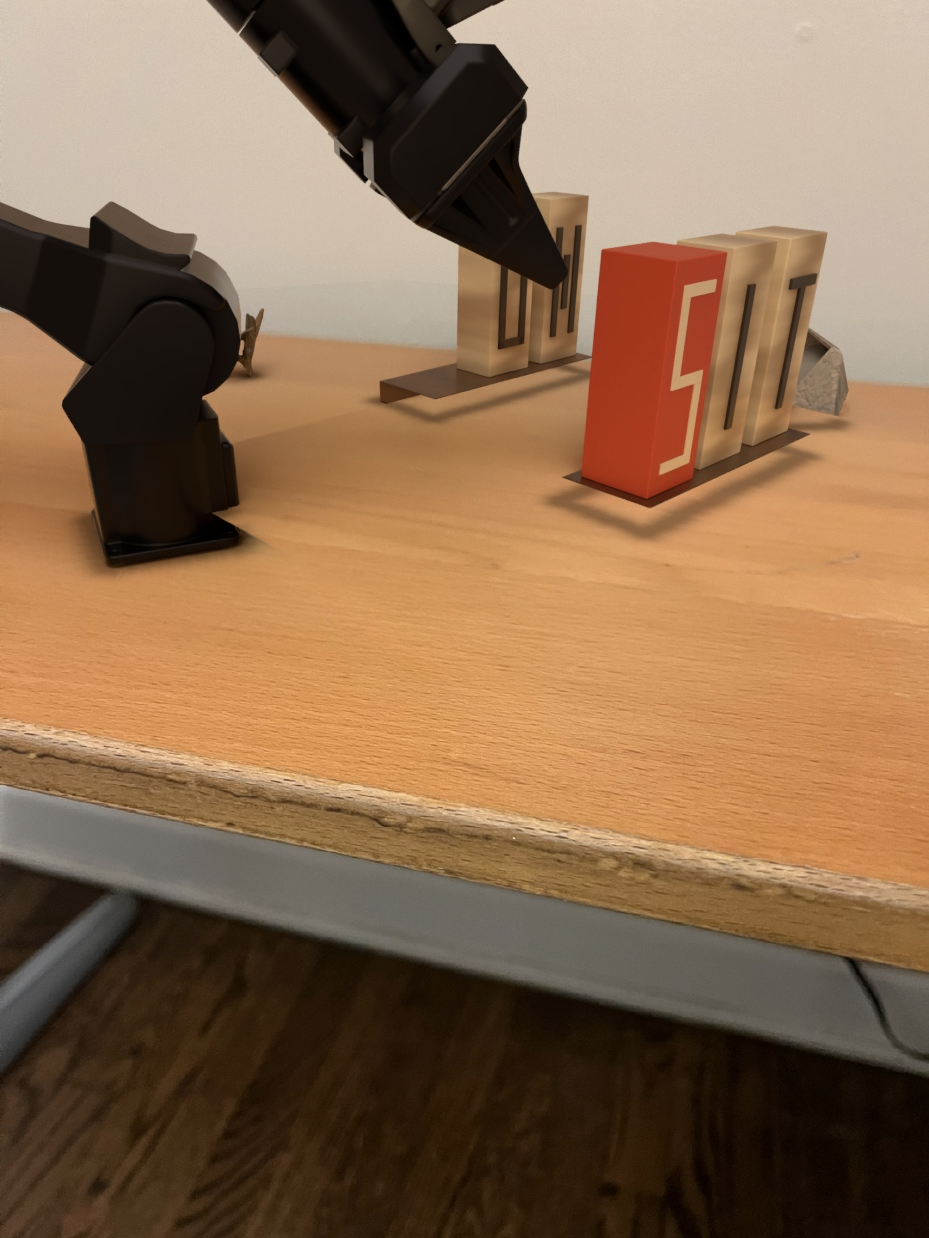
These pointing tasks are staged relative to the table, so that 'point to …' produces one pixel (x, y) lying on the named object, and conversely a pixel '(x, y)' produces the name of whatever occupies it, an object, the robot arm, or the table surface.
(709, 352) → the red letter block
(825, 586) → the table surface
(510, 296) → the wooden blocks on base
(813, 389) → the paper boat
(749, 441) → the sit board
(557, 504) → the table surface
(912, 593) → the table surface
